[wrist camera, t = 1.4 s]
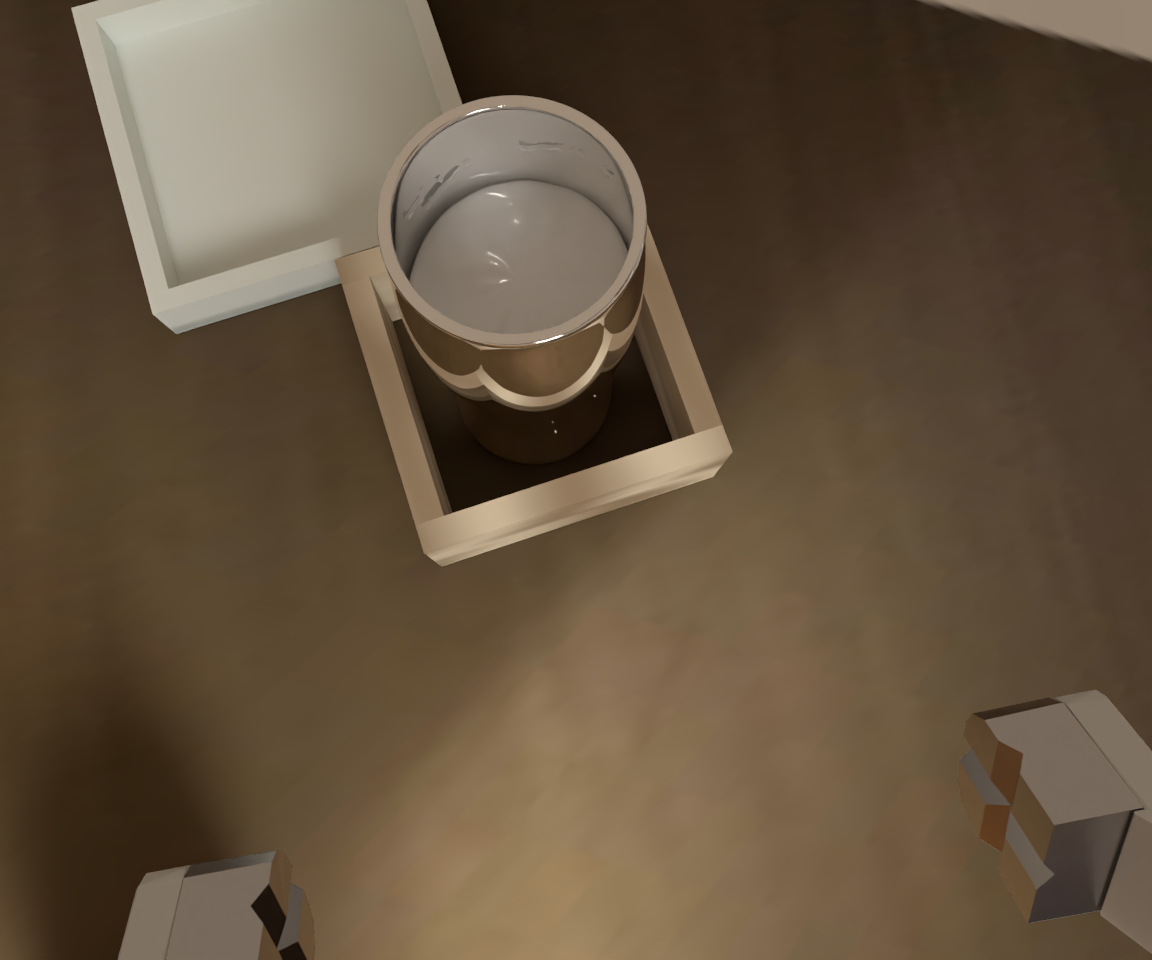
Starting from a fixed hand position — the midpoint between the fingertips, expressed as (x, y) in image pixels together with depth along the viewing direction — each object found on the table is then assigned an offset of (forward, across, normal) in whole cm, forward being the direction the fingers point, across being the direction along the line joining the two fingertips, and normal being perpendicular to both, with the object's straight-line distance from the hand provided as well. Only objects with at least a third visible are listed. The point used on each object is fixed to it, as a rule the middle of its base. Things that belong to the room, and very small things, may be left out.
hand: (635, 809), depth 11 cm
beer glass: (+26, 0, +9) cm, 28 cm away
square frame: (+26, 0, +8) cm, 28 cm away
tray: (+35, +7, 0) cm, 36 cm away
